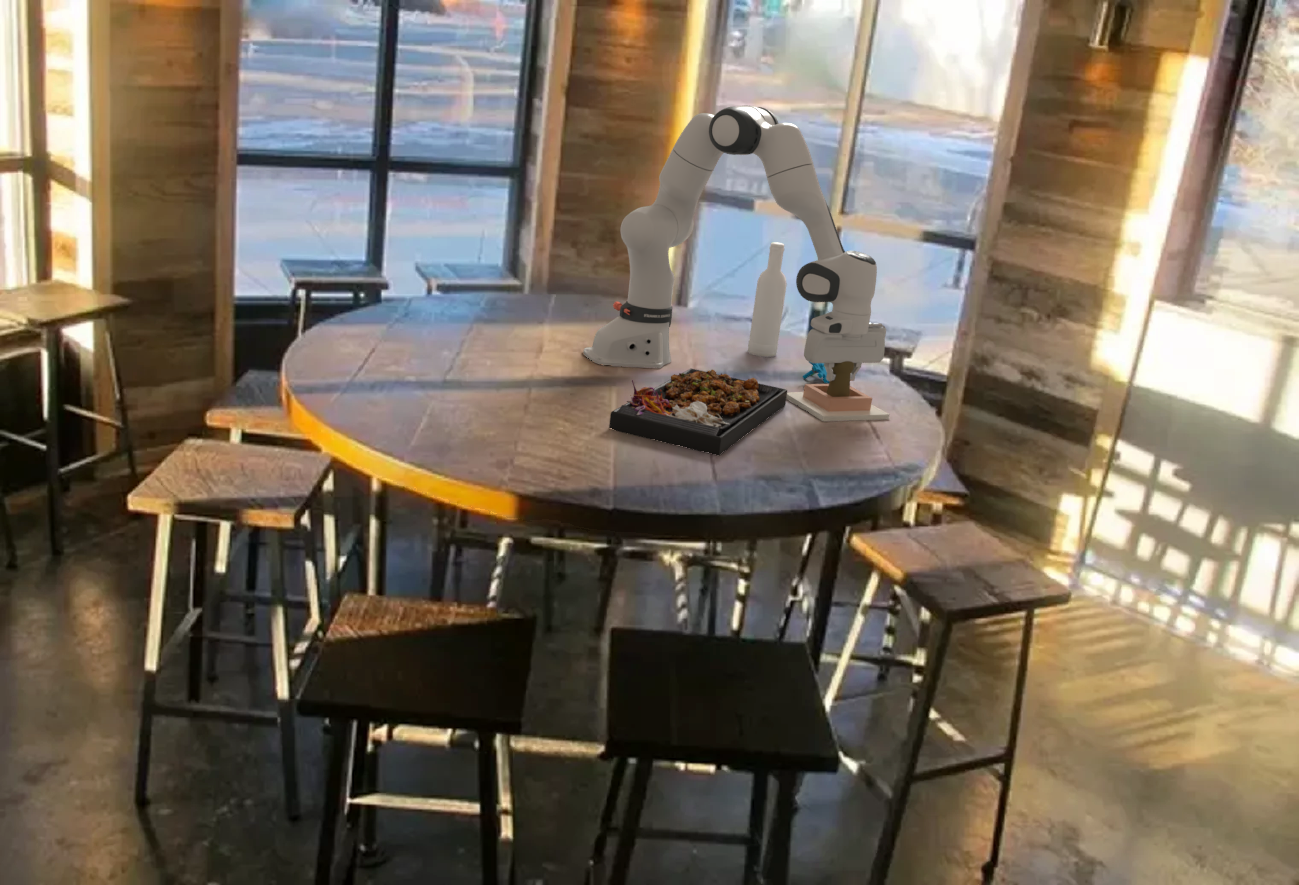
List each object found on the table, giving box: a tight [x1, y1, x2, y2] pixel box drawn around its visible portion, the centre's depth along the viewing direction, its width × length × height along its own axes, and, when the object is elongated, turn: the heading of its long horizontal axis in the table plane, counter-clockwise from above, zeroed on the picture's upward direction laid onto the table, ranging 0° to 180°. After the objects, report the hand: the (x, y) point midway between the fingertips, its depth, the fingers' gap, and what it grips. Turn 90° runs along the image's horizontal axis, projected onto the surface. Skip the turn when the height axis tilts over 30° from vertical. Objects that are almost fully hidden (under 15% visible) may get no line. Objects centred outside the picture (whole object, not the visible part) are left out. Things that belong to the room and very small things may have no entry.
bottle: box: [747, 241, 788, 358], centre depth 327 cm, size 8×8×30 cm
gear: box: [802, 361, 830, 384], centre depth 311 cm, size 11×6×10 cm
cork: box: [826, 361, 854, 397], centre depth 287 cm, size 6×6×11 cm
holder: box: [786, 383, 891, 422], centre depth 288 cm, size 18×18×4 cm
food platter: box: [608, 368, 788, 456], centre depth 270 cm, size 45×25×10 cm, turn 157°
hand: (840, 380), depth 287 cm, fingers closed on cork, 4 cm apart
